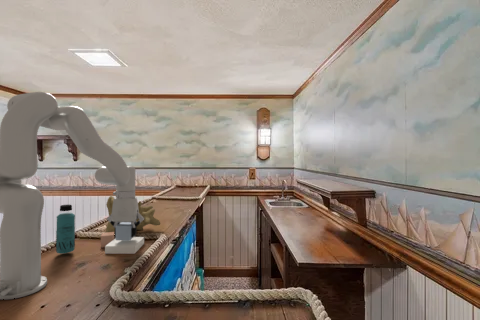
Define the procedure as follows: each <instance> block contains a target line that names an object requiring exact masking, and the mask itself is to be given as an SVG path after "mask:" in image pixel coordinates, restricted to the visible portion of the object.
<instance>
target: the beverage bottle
mask: <svg viewBox="0 0 480 320" xmlns="http://www.w3.org/2000/svg"><path fill="white" fill-rule="evenodd" d="M72 210H73V205H72V204H62V205H60V206H59V212H60V213H59V214H58V215H57V216H56V230H55V232H56V233H55V235H56V236H55V251H56V253H57V254H63V255H64V254H68V253H71V252H73V251H75V248H76V241H75V240H76V239H75V237H76V223H75V221H76V220H75V219H76V215H75V214H74V213H73V212H72ZM70 211H71V212H70Z"/></svg>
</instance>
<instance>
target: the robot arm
mask: <svg viewBox="0 0 480 320" xmlns="http://www.w3.org/2000/svg"><path fill="white" fill-rule="evenodd" d="M6 107H7V111H6V112H5V114H4V115H3V117H2V119H1V122H0V214H3V215H2V220H1V224H0V300H3V299H4V300H14V298H15V299H19V298H22V297H26V296H29V295H32V294H34V293H36V292H37V293H38V292H39V291H40V290H42V289H44V288H45V287H46V286H47V284H48V279H47V277H46V276H43V275H42V234H41V233H42V232H41V231H42V227H41V226H42V218H43V217H42V215H43V212H44V207H45V206H44V205H45V197H44V194H43V193H42V191H41V190H40V189H39V188H37V187H36V186H33V185H31V184H26V183H22V180H27V179H30V178H32V177H34V175H36V174H37V173H36V172H37V171H38V165H39V163H38V142H37V141H38V133H39V129H40V127H42V128H46V129H49V130H55V131H65V132H66V133H67V135H68V136H69V137H70V139H71V141H72V142H73V143H74V145H75V146H76V147H77V149H78V151H79V152H80V153H81V154H83V155H85V156H86V157H88V158H91V159H92V160H95V161H97V162H99V163H100V164H101V165H103V166H100V167H99V168H98V169H97V170H96V171H95V173H94V179H95V180H96V181H97V183H99V184H102V185H107V186H108V185H109V186H115V191H113V192H112V196H115V197H114V201H113V207H112V214H111V215H110V216H109V215H108V217H107V218H106V220H107V221H108V222H110V223H111V224H112V225H113V227H114V228H115V236H114V238H116V226H117V225H118V224H120V222H131V224H132V229H131V237H136V235H137V232H138V230H137V226H138V225H139V224H140V223H141V222H142V221H143V220H144V217H143V216H142V215H141V214H140V213H139V209H138V203H139V200H138V198H137V197H136V167H135V166H133V165H127V164H126V162H125V160H124V159H123V157H122V156H121V155H120V154H119V153H118V152H117V151H116V150H115V149H114V148H112V147H111V146H110V145H109V144H107V143H106V142H104V140H103V139H102V137H101V136H100V134H99V132H98V131H97V130H96V128H95V126H94V125H93V123H92V121H91V120H90V118H89V116H88V115H87V113H86V112H85V111H84V109H83V108H81V107H79V106H74V105H67V106H66V105H64V106H58V101H57V98H56V97H55V96H54V95H53V94H51V93H49V92H45V91H33V92H26V93H21V94H16V95H14V96H12V97H10V99H9V100H8V101H7V105H6ZM138 218H139V221H138V222H136V219H138Z"/></svg>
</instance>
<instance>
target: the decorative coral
mask: <svg viewBox="0 0 480 320" xmlns="http://www.w3.org/2000/svg"><path fill="white" fill-rule="evenodd" d="M114 198H115V197H113V195H109V197H108V198H107V202H106V207H107V212H108V217H109V216H110V215H111V214H112V207H113V201H114ZM138 209H139V213H140V214H141V215H142V216H143V217H144V220H143V221H142V222H141V223H140V224H139V225H138V226H137V231H142V230H144V227H145V226H147V225H153V226H160V225H161V221H160V219H157V218H156V217H154V214H155V212H156V209H155V208H153V205H148V206H142V201H140V200H138ZM138 221H139V218H138V219H136V222H138ZM120 223H121V222H120ZM107 232H114V234H115V228H114V227H113V225H112V224H111V223H110V222H109V221H108V222H107V225H106V228H105V233H107Z"/></svg>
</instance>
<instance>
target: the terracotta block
mask: <svg viewBox="0 0 480 320" xmlns="http://www.w3.org/2000/svg"><path fill="white" fill-rule="evenodd" d="M114 239H115V236H114V232H107V233H106V232H102V233H101V235H100V248H105V246H106V245H107V244H109V243H110V242H111V241H113V240H114Z"/></svg>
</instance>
